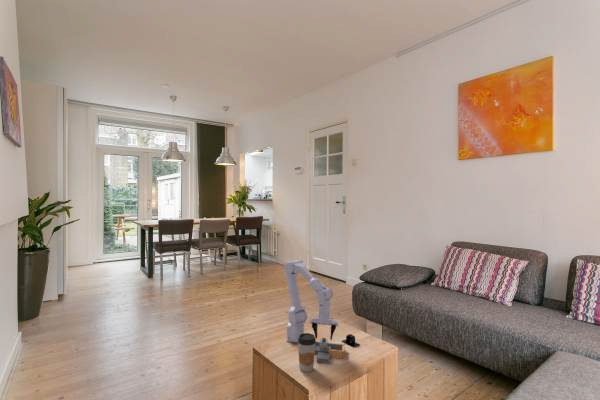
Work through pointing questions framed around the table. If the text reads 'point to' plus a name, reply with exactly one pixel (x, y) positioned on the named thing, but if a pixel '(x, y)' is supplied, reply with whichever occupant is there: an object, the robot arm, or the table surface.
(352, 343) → the black boxy piece
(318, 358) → the gray square block
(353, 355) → the table surface
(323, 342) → the metal block
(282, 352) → the table surface
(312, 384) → the table surface
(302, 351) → the coffee cup
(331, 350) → the rail
